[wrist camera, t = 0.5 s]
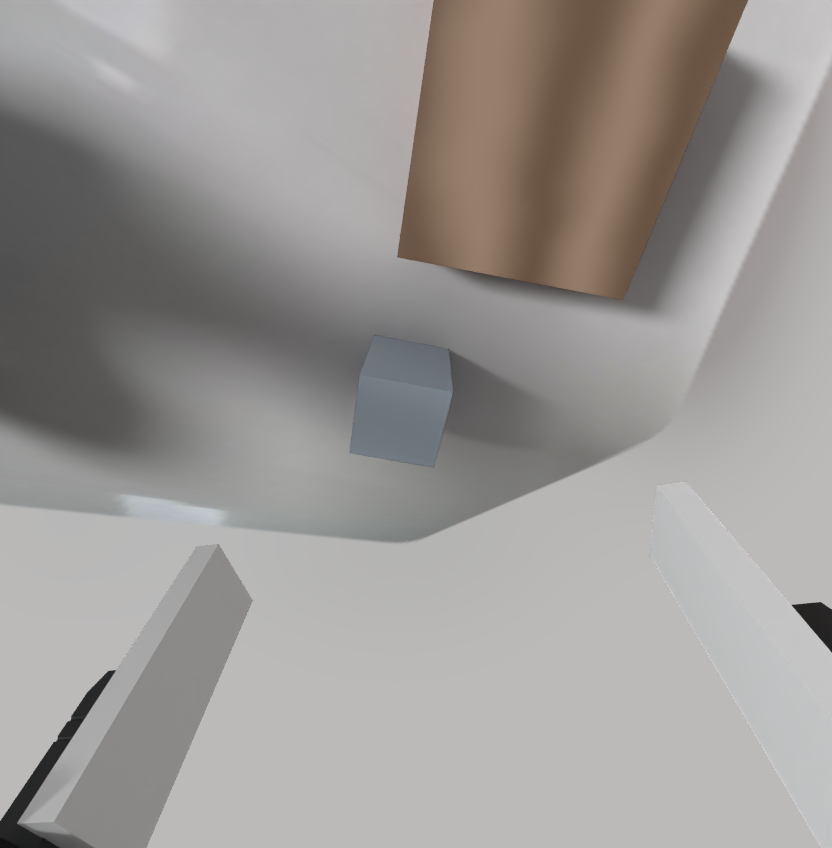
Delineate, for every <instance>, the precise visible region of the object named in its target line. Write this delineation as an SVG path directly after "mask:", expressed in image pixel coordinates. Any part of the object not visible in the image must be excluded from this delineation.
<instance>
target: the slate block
mask: <svg viewBox="0 0 832 848" xmlns="http://www.w3.org/2000/svg"><path fill="white" fill-rule="evenodd" d="M452 395H453V386H452V376H451V366H450V357H449V349H445V348H440V347H435V346H429V345H424V344H419V343H414V342H408V341H403V340H398V339H393V338H387V337H382V336H377V335H374V338H373V341H372V343H371V346H370V348H369V351H368V354H367V356H366V359H365V362H364V364H363V367H362V370H361V372H360V375H359V383H358V391H357V398H356V406H355V414H354V422H353V429H352V437H351V445H350V453H352V454H358V455H364V456H369V457H375V458H381V459H387V460H393V461H399V462H404V463H410V464H416V465H422V466H428V467H433V468H434V465H435V461H436V457H437V453H438V449H439V445H440V442H441V438H442V434H443V430H444V426H445V422H446V418H447V414H448V410H449V406H450V403H451V399H452Z"/></svg>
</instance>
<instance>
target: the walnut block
mask: <svg viewBox="0 0 832 848" xmlns="http://www.w3.org/2000/svg"><path fill="white" fill-rule="evenodd" d="M747 1H748V0H434V2H433V10H432V17H431V24H430V31H429V38H428V45H427V52H426V59H425V66H424V73H423V80H422V87H421V94H420V101H419V108H418V115H417V122H416V129H415V136H414V143H413V150H412V157H411V165H410V172H409V179H408V186H407V193H406V200H405V207H404V214H403V221H402V228H401V235H400V242H399V249H398V256H397V257H399V258H404V259H409V260H415V261H420V262H425V263H430V264H436V265H441V266H446V267H451V268H457V269H462V270H467V271H473V272H478V273H483V274H488V275H494V276H499V277H504V278H510V279H515V280H520V281H525V282H531V283H536V284H541V285H547V286H552V287H557V288H562V289H568V290H573V291H578V292H584V293H589V294H594V295H599V296H605V297H610V298H615V299H621V300H623V299H624V296H625V294H626V292H627V289H628V287H629V284H630V282H631V280H632V277H633V275H634V272H635V270H636V268H637V265H638V263H639V260H640V258H641V256H642V253H643V251H644V248H645V246H646V244H647V241H648V239H649V236H650V234H651V232H652V229H653V227H654V224H655V222H656V220H657V217H658V215H659V212H660V210H661V208H662V205H663V203H664V200H665V198H666V196H667V193H668V191H669V188H670V186H671V184H672V181H673V179H674V176H675V174H676V172H677V169H678V167H679V164H680V162H681V160H682V157H683V155H684V152H685V150H686V148H687V145H688V143H689V140H690V138H691V136H692V133H693V131H694V128H695V126H696V124H697V121H698V119H699V116H700V114H701V112H702V109H703V107H704V104H705V102H706V100H707V97H708V95H709V92H710V90H711V88H712V85H713V83H714V80H715V78H716V76H717V73H718V71H719V68H720V66H721V64H722V61H723V59H724V56H725V54H726V52H727V49H728V47H729V44H730V42H731V40H732V37H733V35H734V32H735V30H736V28H737V25H738V23H739V20H740V18H741V16H742V13H743V11H744V8H745V6H746V4H747Z"/></svg>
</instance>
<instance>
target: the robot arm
mask: <svg viewBox="0 0 832 848" xmlns="http://www.w3.org/2000/svg"><path fill="white" fill-rule="evenodd" d="M650 557H651V559H652V560H653V562H654V564H655V566H656V568H657V569H658V571H659V573H660V574H661V576H662V578H663V579H664V581H665V583H666V584H667V586H668V588H669V590H670V591H671V593H672V595H673V597H674V598H675V600H676V601H677V603H678V605H679V607H680V609H681V610H682V612H683V614H684V615H685V617H686V619H687V620H688V622H689V624H690V626H691V627H692V629H693V631H694V632H695V634H696V636H697V638H698V639H699V641H700V643H701V644H702V646H703V648H704V650H705V651H706V653H707V655H708V656H709V658H710V660H711V661H712V663H713V665H714V667H715V668H716V670H717V671H718V673H719V675H720V677H721V679H722V680H723V682H724V684H725V685H726V687H727V689H728V690H729V692H730V694H731V696H732V697H733V699H734V701H735V702H736V704H737V706H738V708H739V709H740V711H741V713H742V714H743V716H744V718H745V719H746V721H747V723H748V725H749V726H750V728H751V730H752V731H753V733H754V735H755V737H756V738H757V740H758V742H759V743H760V745H761V747H762V749H763V750H764V752H765V754H766V755H767V757H768V759H769V760H770V762H771V764H772V766H773V767H774V769H775V771H776V772H777V774H778V776H779V778H780V779H781V781H782V783H783V784H784V786H785V788H786V789H787V791H788V793H789V795H790V796H791V798H792V800H793V801H794V803H795V805H796V807H797V808H798V810H799V812H800V813H801V815H802V817H803V819H804V820H805V822H806V824H807V825H808V827H809V829H810V831H811V832H812V834H813V835H814V837H815V839H816V841H817V842H818V844H819V846H820V848H832V609H830V608H828V607H827V606H825V605H824V604H823V603H821V602H818V603H807V604H797V605H791V604H790V603H789V602H788V601H787V600H786V598H785V597H784V596H783V595H782V594H781V592H780V591H779V590H778V589H777V588H776V587H775V585H774V584H773V583H772V582H771V581H770V580H769V579H768V577H767V576H766V575H765V574H764V573H763V572H762V570H761V569H760V568H759V567H758V566H757V565H756V563H755V562H754V561H753V560H752V559H751V557H750V556H749V555H748V554H747V553H746V551H745V550H744V549H743V548H742V547H741V546H740V544H739V543H738V542H737V541H736V540H735V539H734V537H733V536H732V535H731V534H730V533H729V532H728V530H727V529H726V528H725V527H724V526H723V525H722V523H721V522H720V521H719V520H718V519H717V517H716V516H715V515H714V514H713V513H712V512H711V510H709V508H708V507H707V506H706V505H705V504H704V502H703V501H702V500H701V499H700V498H699V496H698V495H697V494H696V493H695V492H694V491H693V489H692V488H691V487H690V486H689V485H688V484H687V483H686V481H684V482H677V483H669V484H662V485H656V491H655V501H654V512H653V522H652V533H651V544H650ZM251 603H252V599H251V597H250V596H249V594H248V592H247V590H246V589H245V587H244V586H243V584H242V582H241V580H240V579H239V577H238V575H237V574H236V572H235V571H234V569H233V567H232V566H231V564H230V562H229V560H228V559H227V557H226V556H225V554H224V552H223V551H222V549H221V548H220V546H219V544H213V545H206V546H199V547H196V548H195V550H194V551H193V553H192V554H191V556H190V557H189V559H188V561H187V562H186V564H185V565H184V567H183V568H182V570H181V571H180V573H179V575H178V576H177V578H176V579H175V580H174V582H173V584H172V585H171V587H170V588H169V590H168V591H167V593H166V594H165V596H164V597H163V599H162V601H161V602H160V604H159V605H158V607H157V608H156V610H155V611H154V613H153V614H152V616H151V618H150V619H149V621H148V622H147V624H146V625H145V627H144V628H143V630H142V631H141V633H140V634H139V636H138V638H137V639H136V641H135V642H134V644H133V645H132V647H131V648H130V650H129V651H128V653H127V654H126V656H125V658H124V659H123V661H122V662H121V664H120V665H119V667H118V668H117V670H113V671H108V672H107V673H106V674H105V675H104V676H103V677H102V678H101V679H100V680H99V681H98V682H97V683H96V684H95V685H94V686H93V687H92V688H91V689H90V690H89V691H88V692H87V694H86V695H85V697H84V698H83V700H82V701H81V703H80V704H79V706H78V707H77V709H76V710H75V712H74V713H73V715H72V716H71V717H72V718H71V721H68V722H67V723H66V725H65V727H64V728H63V729H62V731H61V732H60V734H59V735H58V740H57V741H56V742H54V743H53V744H52V746H51V747H50V749H49V750H48V752H47V753H46V755H45V756H44V758H43V759H42V761H41V762H40V763H39V765H38V766H37V768H36V769H35V771H34V772H33V774H32V775H31V777H30V778H29V780H28V781H27V783H26V784H25V786H24V787H23V788H22V790H21V792H20V793H19V795H18V796H17V798H16V799H15V800H14V802H13V803H12V805H11V806H10V808H9V809H8V811H7V812H6V814H5V815H4V817H3V818H2V819H1V821H0V848H146V847H147V845H148V842H149V840H150V838H151V836H152V833H153V831H154V829H155V826H156V824H157V822H158V819H159V817H160V815H161V812H162V810H163V808H164V805H165V803H166V801H167V798H168V796H169V793H170V791H171V789H172V787H173V784H174V782H175V780H176V777H177V775H178V773H179V770H180V768H181V766H182V763H183V761H184V759H185V756H186V754H187V752H188V750H189V747H190V745H191V743H192V740H193V738H194V735H195V733H196V731H197V728H198V726H199V724H200V722H201V719H202V717H203V715H204V712H205V710H206V707H207V705H208V703H209V701H210V698H211V696H212V694H213V691H214V689H215V687H216V684H217V682H218V680H219V677H220V675H221V673H222V670H223V668H224V666H225V663H226V661H227V659H228V656H229V654H230V652H231V650H232V647H233V645H234V643H235V640H236V638H237V635H238V633H239V631H240V629H241V626H242V624H243V622H244V619H245V617H246V615H247V612H248V610H249V608H250V605H251Z"/></svg>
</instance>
